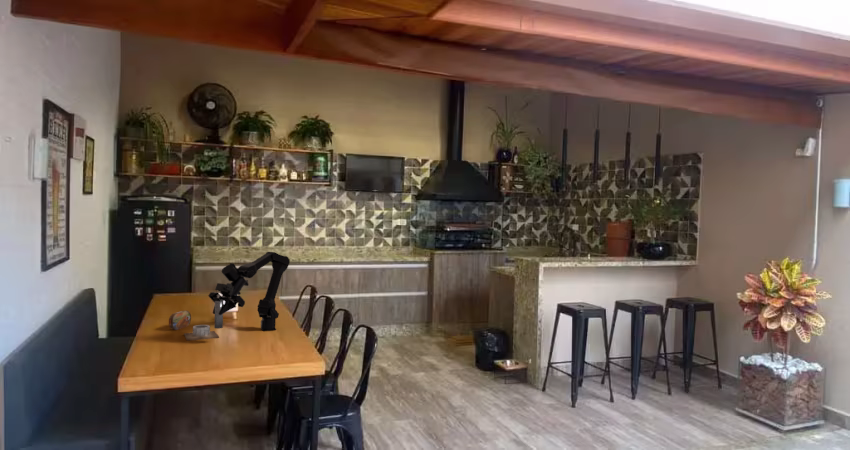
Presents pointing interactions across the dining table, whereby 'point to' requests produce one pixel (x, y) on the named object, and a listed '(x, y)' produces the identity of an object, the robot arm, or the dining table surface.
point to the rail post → (218, 317)
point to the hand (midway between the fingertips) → (216, 314)
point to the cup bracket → (201, 330)
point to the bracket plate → (190, 337)
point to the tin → (179, 320)
